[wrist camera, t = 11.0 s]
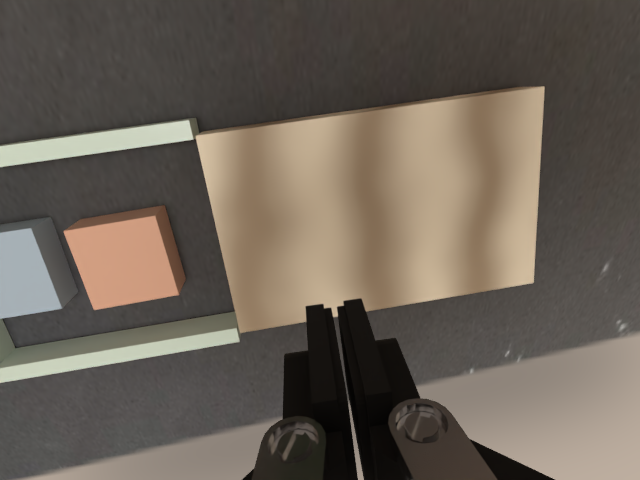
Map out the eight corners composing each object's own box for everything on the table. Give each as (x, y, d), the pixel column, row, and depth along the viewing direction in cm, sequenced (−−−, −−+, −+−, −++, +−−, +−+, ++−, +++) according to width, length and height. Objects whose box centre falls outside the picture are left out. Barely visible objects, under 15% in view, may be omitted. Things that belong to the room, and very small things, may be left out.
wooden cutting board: (519, 86, 25) (544, 86, 23) (512, 267, 29) (533, 282, 27) (202, 131, 24) (195, 135, 22) (242, 312, 28) (239, 332, 26)
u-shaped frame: (195, 117, 24) (188, 120, 22) (241, 323, 28) (239, 341, 26) (-92, 157, 23) (-128, 163, 21) (5, 363, 27) (-16, 385, 25)
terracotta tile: (165, 203, 25) (155, 215, 23) (186, 276, 27) (178, 294, 25) (82, 217, 25) (63, 231, 23) (109, 290, 27) (94, 309, 25)
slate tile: (-66, 242, 22) (-34, 228, 25) (-27, 323, 24) (-1, 302, 26) (31, 228, 23) (53, 215, 25) (62, 308, 24) (80, 289, 27)
